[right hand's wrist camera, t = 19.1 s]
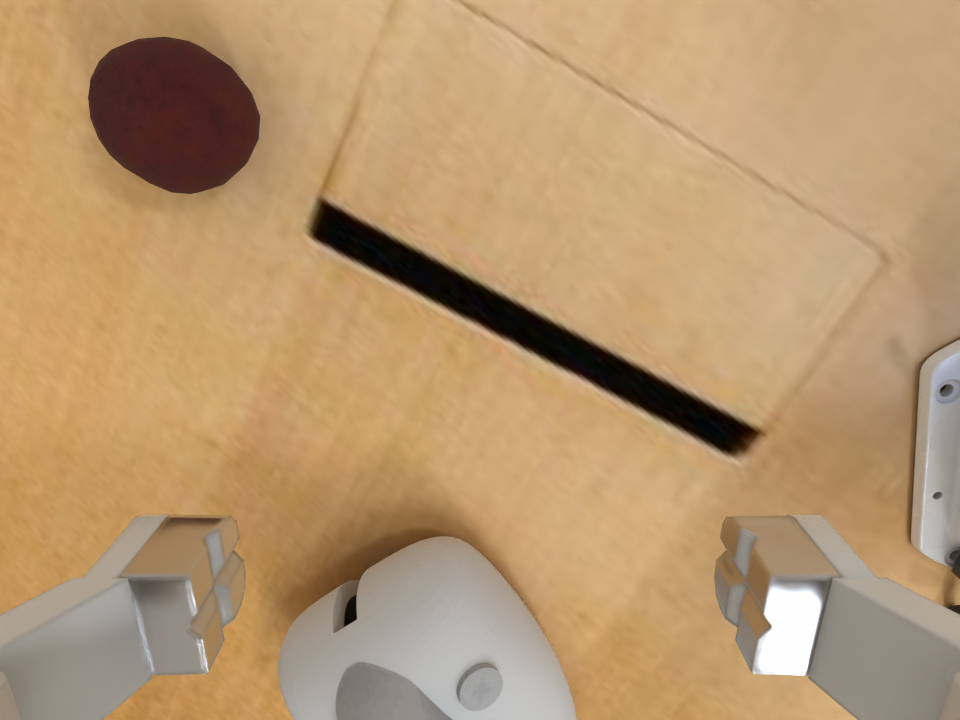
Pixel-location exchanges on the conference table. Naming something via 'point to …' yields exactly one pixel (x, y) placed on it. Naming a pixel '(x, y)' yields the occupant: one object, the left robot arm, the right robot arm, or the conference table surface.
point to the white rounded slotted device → (423, 645)
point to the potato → (173, 114)
